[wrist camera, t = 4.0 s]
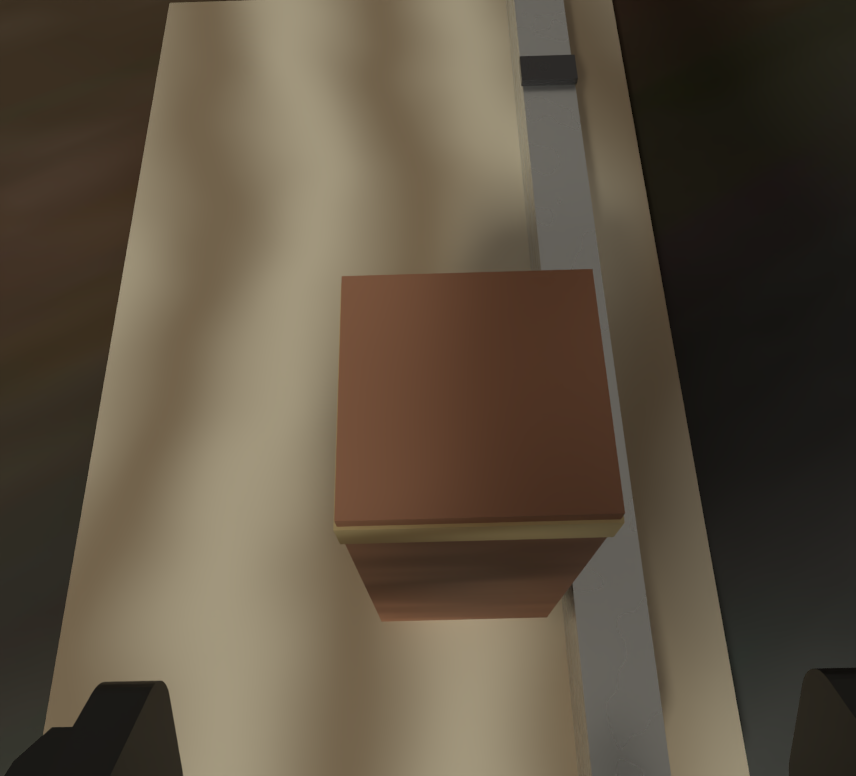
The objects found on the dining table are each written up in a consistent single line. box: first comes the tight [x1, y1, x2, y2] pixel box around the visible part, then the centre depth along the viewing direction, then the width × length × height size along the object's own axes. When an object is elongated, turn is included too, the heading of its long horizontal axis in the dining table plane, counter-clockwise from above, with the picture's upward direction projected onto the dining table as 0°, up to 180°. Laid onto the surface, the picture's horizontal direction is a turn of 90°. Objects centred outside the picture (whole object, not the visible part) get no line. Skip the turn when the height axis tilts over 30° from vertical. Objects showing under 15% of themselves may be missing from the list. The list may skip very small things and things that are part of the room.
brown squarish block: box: [333, 269, 625, 622], centre depth 16 cm, size 4×4×9 cm
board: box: [43, 0, 750, 776], centre depth 23 cm, size 16×26×2 cm, turn 1°
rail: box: [506, 0, 671, 776], centre depth 22 cm, size 2×25×2 cm, turn 1°
